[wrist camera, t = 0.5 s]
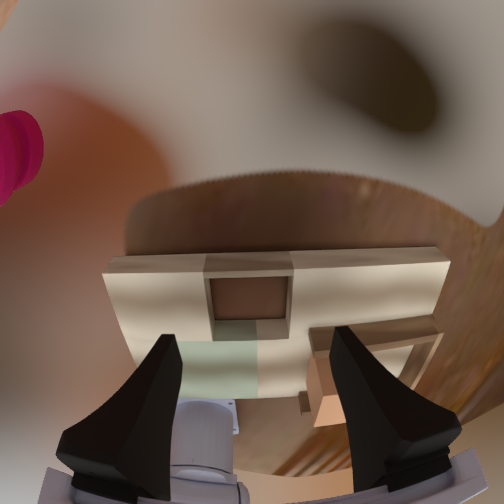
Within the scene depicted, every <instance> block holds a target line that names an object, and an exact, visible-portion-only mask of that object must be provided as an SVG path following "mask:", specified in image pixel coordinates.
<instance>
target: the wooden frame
mask: <svg viewBox="0 0 504 504" xmlns="http://www.w3.org/2000/svg"><path fill="white" fill-rule="evenodd" d="M339 326H348V327H349V328H350V329H351V330H352V331H353V332H354V334H355V335H356V336H357V337H358V338H359V340H360V341H361V342H362V343H363V344H364V346H365V347H366V348H367V349H368V350H369V351H370V352H374V351H381V350H388V349H394V348H400V347H405V346H411V345H414V346H413V348H412V351H411V353H410V355H409V357H408V359H407V361H406V363H405V365H404V367H403V369H402V371H401V373H400V375H399V377H397V379H399V380H400V381H401V382H402V383H404V384H405V385H406V386H408V387H409V388H410V389H412V390H414V388H415V386H416V385H417V383H418V381H419V380H420V378H421V376H422V374H423V373H424V371H425V369H426V367H427V366H428V364H429V362H430V360H431V358H432V356H433V354H434V352H435V351H436V349H437V347H438V345H439V343H440V341H441V339H442V337H443V334H444V331H443V330H442V328H441V327H440V325H439V324H438V322H437V321H436V319H435V318H434V316H433V315H432V314H429V315H422V316H416V317H409V318H401V319H394V320H386V321H377V322H369V323H359V324H349V325H338V326H327V327H314V328H309V332H308V337H309V341H310V346H311V350H312V354H313V359H315V358H325V357H329V353H330V349H331V344H332V339H333V334H334V329H335V327H339ZM298 398H299V404H300V411H301V416H310V415H312V414H311V409H310V403H309V397H308V392H307V391H299V394H298Z"/></svg>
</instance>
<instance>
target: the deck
mask: <svg viewBox="0 0 504 504" xmlns="http://www.w3.org/2000/svg"><path fill="white" fill-rule="evenodd" d="M450 262H451V261H450V260H449V259H448V258H447V257H446V256H445V255H444V254H443V253H442V252H441V251H440V250H439V249H438V248H437V247H404V248H372V249H339V250H306V251H273V252H240V253H207V254H174V255H141V256H114V257H113V258H112V260H111V261H110V263H109V264H108V266H107V267H106V268H105V270H104V271H103V273H102V275H103V278H104V282H105V285H106V288H107V291H108V294H109V297H110V300H111V302H112V306H113V308H114V311H115V314H116V317H117V319H118V322H119V325H120V327H121V330H122V332H123V335H124V337H125V340H126V342H127V345H128V347H129V350H130V352H131V355H132V357H133V359H134V362H135V364H136V366H137V368H138V366H139V365H140V364H141V362H142V361H143V360H144V358H145V357H146V356H147V354H148V353H149V351H150V350H151V348H152V347H153V345H154V344H155V343H156V341H157V340H158V338H159V337H160V335H161V334H175V337H176V341H177V344H178V348H179V351H180V355H181V358H182V361H183V370H182V382H181V387H180V392H179V397H178V398H200V399H251V398H274V397H290V396H298V394H299V391H307V387H306V378H307V373H308V368H309V362H310V357H311V351H312V350H311V346H310V341H309V337H308V332H309V328H314V327H327V326H338V325H349V324H359V323H369V322H377V321H386V320H394V319H401V318H409V317H416V316H422V315H429V314H432V313H433V310H434V308H435V305H436V302H437V300H438V297H439V294H440V292H441V289H442V286H443V283H444V280H445V277H446V274H447V271H448V268H449V265H450ZM271 276H288V284H287V301H286V317H285V318H281V319H257V320H215V319H214V312H213V304H212V296H211V287H210V279H209V278H239V277H271ZM413 346H414V345H411V346H405V347H400V348H394V349H388V350H381V351H374V352H373V355H374V357H375V358H376V359H377V360H378V361H379V362H380V363H381V364H382V365H383V366H384V367H385V368H386V369H387V370H388V371H389V372H391V373H392V374H393V375H394V376H395V377H396V378H397V377H399V375H400V373H401V371H402V369H403V367H404V365H405V363H406V361H407V359H408V357H409V355H410V353H411V351H412V348H413Z"/></svg>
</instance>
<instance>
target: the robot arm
mask: <svg viewBox="0 0 504 504" xmlns="http://www.w3.org/2000/svg"><path fill="white" fill-rule="evenodd" d="M329 361H330V367H331V372H332V377H333V380H334V383H335V386H336V390H337V393H338V396H339V399H340V403H341V406H342V409H343V412H344V416H345V420H346V425H347V431H348V437H349V443H350V451H351V459H352V468H353V485H354V493H353V494H347V495H343V496H337V497H332V498H326V499H320V500H314V501H306V502H298V503H288V504H461V503H463V502H465V501H467V500H469V499H470V498H472V497H474V496H475V495H477V494H479V493H480V492H482V491H484V490H485V489H487V488H488V484H487V481H486V478H485V475H484V473H483V470H482V467H481V465H480V462H479V460H478V457H477V455H476V452H475V450H474V448H470V449H468V450H466V451H464V452H461V453H459V454H457V455H455V456H453V457H452V458H450V459H449V457H448V454H449V453H450V449H449V447H448V446H449V445H450V443H452V442H453V441H454V440H455V439H456V438H457V437H458V436H459V434H460V433H461V430H462V428H461V425H460V422H459V420H458V418H457V416H456V414H455V413H454V412H452V411H450V410H448V409H445V408H443V407H441V406H439V405H437V404H435V403H433V402H431V401H429V400H427V399H426V398H424V397H422V396H421V395H419V394H418V393H416V392H415V391H413V390H412V389H410V388H409V387H408V386H406V385H405V384H404V383H402V382H401V381H400V380H399V379H397V378H396V377H395V376H394V375H393V374H392V373H391V372H389V371H388V370H387V369H386V368H385V367H384V366H383V365H382V364H381V363H380V362H379V361H378V360H377V359H376V358H375V357H374V355H373V354H372V353H371V352H370V351H369V350H368V349H367V348H366V347H365V346H364V344H363V343H362V342H361V341H360V340H359V338H358V337H357V336H356V335H355V334H354V332H353V331H352V330H351V329H350V328H349V327H348V326H339V327H335V329H334V334H333V339H332V344H331V349H330V353H329ZM182 370H183V361H182V358H181V355H180V351H179V348H178V344H177V341H176V337H175V334H161V335H160V337H159V338H158V340H157V341H156V343H155V344H154V345H153V347H152V348H151V350H150V351H149V353H148V354H147V356H146V357H145V358H144V360H143V361H142V362H141V364H140V365H139V366H138V368H137V369H136V370H135V371H134V373H133V374H132V375H131V376H130V378H129V379H128V380H127V381H126V382H125V383H124V385H123V386H122V387H121V388H120V389H119V390H118V391H117V392H116V393H115V394H114V395H113V396H112V397H111V398H110V399H109V400H108V401H106V402H105V403H104V404H103V405H102V406H101V407H99V408H98V409H97V410H96V411H94V412H93V413H91V415H89V416H87V417H86V418H85V419H83V420H82V421H80V422H78V423H77V424H75V425H73V426H72V427H70V428H68V429H66V430H64V431H63V433H62V436H61V438H60V441H59V445H58V448H57V451H56V456H57V458H58V459H59V460H60V461H61V462H62V463H64V464H65V465H66V466H67V467H69V468H70V469H71V470H73V471H74V475H73V477H72V476H71V475H69V474H66V473H63V472H60V471H58V470H55V469H52V468H50V467H48V468H47V471H46V474H45V477H44V481H43V484H42V488H41V492H40V496H39V500H38V504H250V498H249V492H248V489H247V488H246V487H245V486H244V484H243V483H242V482H237V475H235V474H233V434H238V433H239V427H238V419H237V412H236V404H235V399H200V398H178V397H179V392H180V387H181V382H182Z"/></svg>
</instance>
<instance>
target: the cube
mask: <svg viewBox="0 0 504 504" xmlns="http://www.w3.org/2000/svg"><path fill="white" fill-rule="evenodd" d="M371 353H372V354H373V352H371ZM306 387H307V392H308V397H309V403H310V409H311V414H312V420H313V426H314V427H318V426H326V425H333V424H339V423H346V420H345V416H344V412H343V409H342V406H341V403H340V399H339V396H338V393H337V390H336V386H335V383H334V380H333V377H332V372H331V367H330V361H329V357H325V358H315V359H313V354H312V351H311V357H310V362H309V368H308V373H307V378H306Z"/></svg>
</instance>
